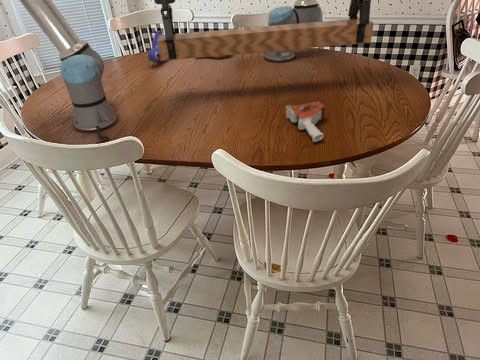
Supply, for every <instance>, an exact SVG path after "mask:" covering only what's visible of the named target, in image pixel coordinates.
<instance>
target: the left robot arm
mask: <svg viewBox="0 0 480 360" xmlns="http://www.w3.org/2000/svg"><path fill="white" fill-rule="evenodd" d="M18 1H19V2H20V4H21V5H22V7H23V8H24V9H25V10H26V12H27V13H29V16H30V17H31V18H32V19H33V20H34V21H35V23H36V24H37V25H38V26H39V28H40V29H41V31H42V32H43V33H44V34H45V36H46V37H47V38H48V39H49V40H50V42H51V43H52V45H53V46H54V47H55V49H56V50H57V51H58V52H59V53H58V54H59V55H58V59H59V61H61V63H60V64H59V69H60V75H61V77H62V79H63V82H64V84H65V87H66V90H67V93H68V96H69V99H70V101H71V104H72V108H73V114H72V117H73V118H72V119H73V125H74V128H75V129H76V131H78V132H84V133H92V132H96V133H97V137H98V138H100V139H101V140H99V141H96V143H95V144H98V143H101V144H103V143H105V142H107V141H108V140H109V136H107V135H101V131H102V130H105V129H107V128H110V127H111V126H113V125H115V124H116V122H117V121H118V116H117V114H116V111H115V110H114V108H113V107H112V105H111V103H110V102H109V101H108V99H107V96H106V92H105V89H104V87H103V86H104V85H103V83H102V78H103V74H104V71H105V65H104V64H105V63H104V61H103V59H102V57H101V55H100V53H98V52H97V51H96V50H95V49H93V48H92V47H91V46H90V44H89V43H88V41H87V40H84V39H81V38H79V36H78V34H77V33H76V31H74V30H73V29H74V28H72V27H71V25H70V23H68V21H67V20H66V18H65V17H64V16H63V14H62V13H61V12H60V9H58V7H57V6H56V4H55V3H54V2H53V0H18ZM153 1H154V4H155V5H161V8H160V15H161V20H162V23H163V29H164V35H165V38H166V39H165V40H164V42H167V48H168V54H169V59H176V52H175V45H174V41H173V34H177V31H176V30H175V26H174V19H173V7H171V6H172V5H171V4H174V3H175V2H176V0H153ZM168 37H171V38H168Z"/></svg>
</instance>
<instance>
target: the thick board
mask: <svg viewBox="0 0 480 360" xmlns="http://www.w3.org/2000/svg"><path fill="white" fill-rule="evenodd" d="M358 24H359V17H358V19H350V18H349V19H348V18H347V19H338V20H337V19H336V20H324V21H323V20H322V22H311V23H299V24H287V25H275V26H268V25H266V26H265V25H263V26H253V27H252V26H251V27H240V28H229V29H228V28H227V29H217V30H205V31H192V32H180V33H176V34H173V41H174V45H175V52H176V59H169V54H168V48H167V42H164V40H165V39H166V38H165V34H164V35H159V37H158V40H157V43H158V48H159V53H160V59H161V61H160V62H164V61H177V60H188V59H190V60H191V59H199V58H201V59H202V58H213V56H224V55H227V56H234V55H244V54H245V55H246V54H256V53H257V54H258V53H266V52H270V51H282V50H293V49H294V50H303V49H314V48H326V47H337V46H338V47H339V46H349V45H360V44H361V45H362V44H371V42H372V37H373V32H374V31H373V30H374V25H375V24H374V21H372V20H370V19H369V24H367V25H366V27H365V34H364V41H363V43H356V38H357V30H358ZM168 38H171V37H168Z"/></svg>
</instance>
